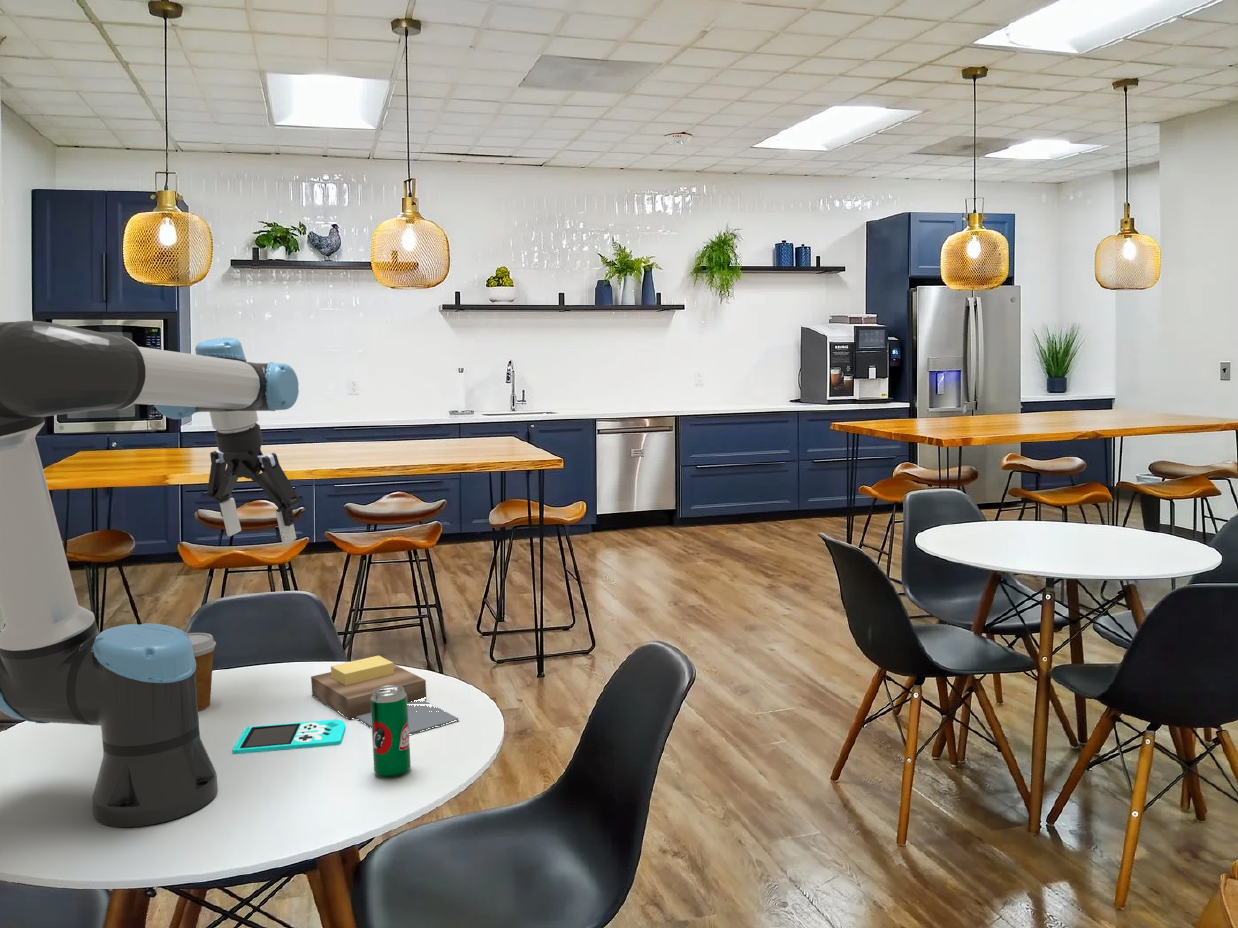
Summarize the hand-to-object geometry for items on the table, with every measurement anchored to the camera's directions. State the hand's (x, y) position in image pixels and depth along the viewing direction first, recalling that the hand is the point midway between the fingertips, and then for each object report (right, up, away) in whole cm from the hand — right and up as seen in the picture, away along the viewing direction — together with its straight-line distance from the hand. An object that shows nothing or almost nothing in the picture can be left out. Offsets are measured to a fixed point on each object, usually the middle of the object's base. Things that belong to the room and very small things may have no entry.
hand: (261, 537), depth 176 cm
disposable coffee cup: (-9, -29, -10) cm, 32 cm away
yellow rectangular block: (+20, -24, -6) cm, 32 cm away
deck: (+22, -28, -8) cm, 36 cm away
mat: (+31, -28, -19) cm, 46 cm away
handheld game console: (+14, -30, -25) cm, 42 cm away
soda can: (+33, -31, -39) cm, 60 cm away
